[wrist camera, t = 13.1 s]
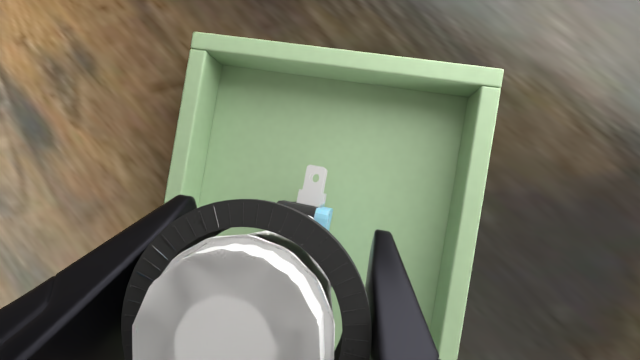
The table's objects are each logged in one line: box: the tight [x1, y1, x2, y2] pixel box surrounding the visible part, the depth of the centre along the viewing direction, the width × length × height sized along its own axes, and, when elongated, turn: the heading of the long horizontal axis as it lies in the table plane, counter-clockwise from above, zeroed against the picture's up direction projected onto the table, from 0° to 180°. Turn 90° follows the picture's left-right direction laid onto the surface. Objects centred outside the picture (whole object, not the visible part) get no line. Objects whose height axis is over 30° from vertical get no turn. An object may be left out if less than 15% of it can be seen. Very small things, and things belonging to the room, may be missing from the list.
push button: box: [121, 165, 372, 360], centre depth 11 cm, size 7×5×10 cm
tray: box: [164, 32, 504, 360], centre depth 17 cm, size 17×14×3 cm
